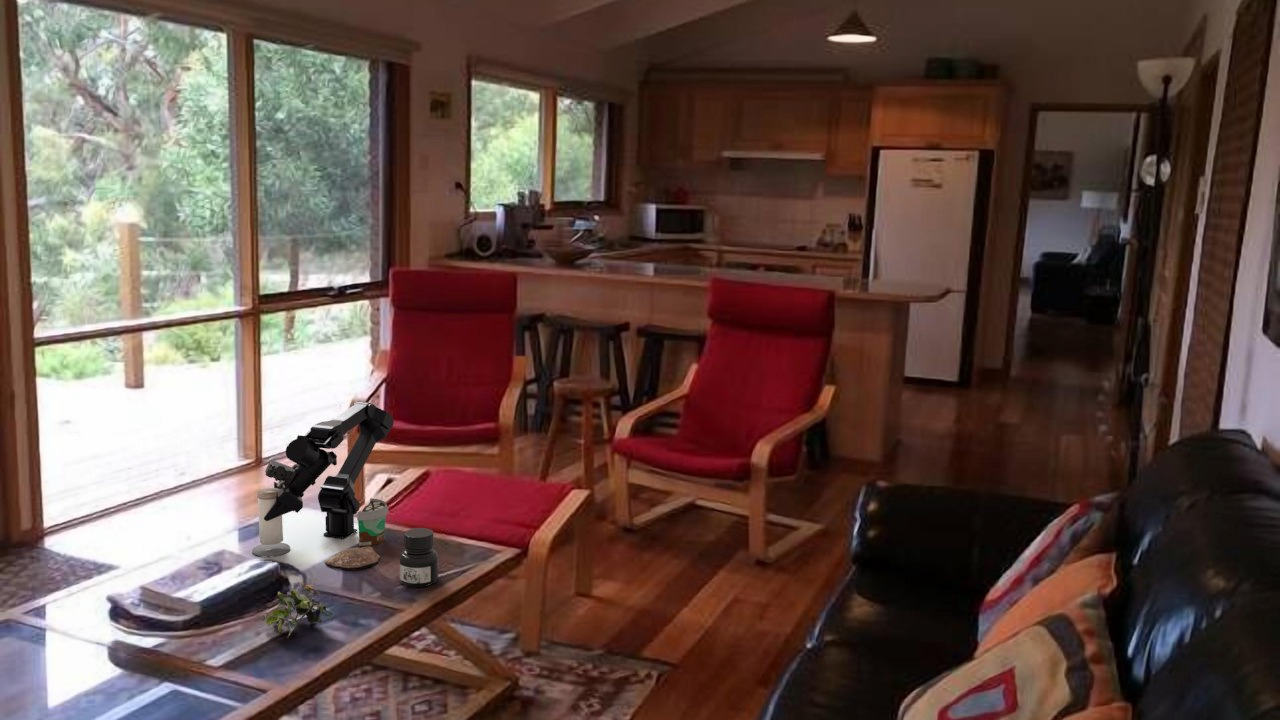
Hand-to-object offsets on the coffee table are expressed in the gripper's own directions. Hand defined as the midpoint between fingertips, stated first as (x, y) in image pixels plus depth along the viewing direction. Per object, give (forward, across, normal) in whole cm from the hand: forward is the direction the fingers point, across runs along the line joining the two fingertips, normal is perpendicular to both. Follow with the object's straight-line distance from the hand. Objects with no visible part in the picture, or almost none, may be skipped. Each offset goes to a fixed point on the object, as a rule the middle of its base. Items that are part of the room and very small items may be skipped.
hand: (264, 516), depth 259 cm
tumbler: (+4, 0, +6) cm, 7 cm away
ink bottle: (-17, +31, +30) cm, 46 cm away
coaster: (+6, 0, +7) cm, 9 cm away
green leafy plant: (+4, +50, +9) cm, 51 cm away
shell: (-7, +14, +21) cm, 26 cm away
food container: (-12, +2, +26) cm, 29 cm away
